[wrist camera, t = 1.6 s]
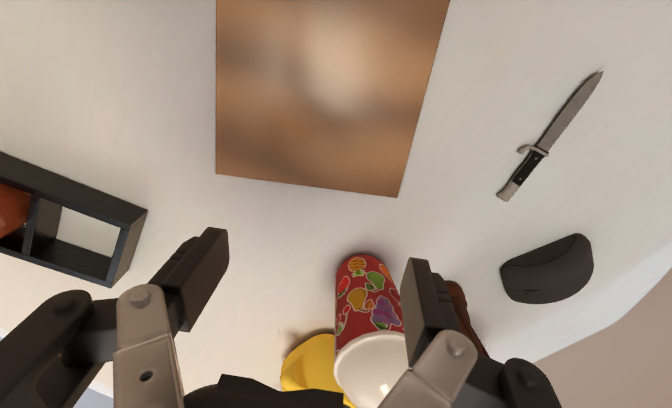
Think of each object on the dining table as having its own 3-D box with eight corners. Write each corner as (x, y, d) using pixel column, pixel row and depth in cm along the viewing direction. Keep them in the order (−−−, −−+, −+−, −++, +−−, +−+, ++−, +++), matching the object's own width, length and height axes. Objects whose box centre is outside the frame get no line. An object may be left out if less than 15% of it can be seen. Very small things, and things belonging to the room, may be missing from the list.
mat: (218, -61, 25) (216, -63, 24) (450, -10, 27) (453, -11, 27) (216, 172, 33) (215, 174, 32) (396, 196, 35) (397, 198, 35)
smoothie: (327, 297, 41) (335, 486, 23) (329, 244, 37) (341, 415, 19) (388, 297, 41) (445, 480, 23) (396, 244, 38) (470, 411, 20)
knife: (486, 191, 36) (508, 202, 36) (489, 194, 35) (511, 204, 35) (581, 60, 30) (605, 74, 31) (587, 59, 29) (611, 74, 30)
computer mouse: (496, 265, 40) (514, 285, 36) (583, 229, 38) (611, 247, 35) (507, 298, 43) (524, 319, 39) (589, 266, 41) (615, 285, 37)
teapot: (278, 387, 48) (268, 463, 39) (282, 323, 42) (272, 394, 33) (364, 390, 49) (375, 463, 40) (379, 328, 44) (395, 397, 35)
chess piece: (436, 312, 43) (468, 378, 34) (420, 288, 41) (450, 352, 32) (466, 297, 42) (507, 361, 33) (451, 272, 40) (490, 333, 31)
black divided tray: (-32, 138, 30) (-74, 147, 27) (148, 210, 34) (130, 225, 31) (-38, 212, 33) (-75, 228, 30) (128, 269, 37) (111, 288, 34)
